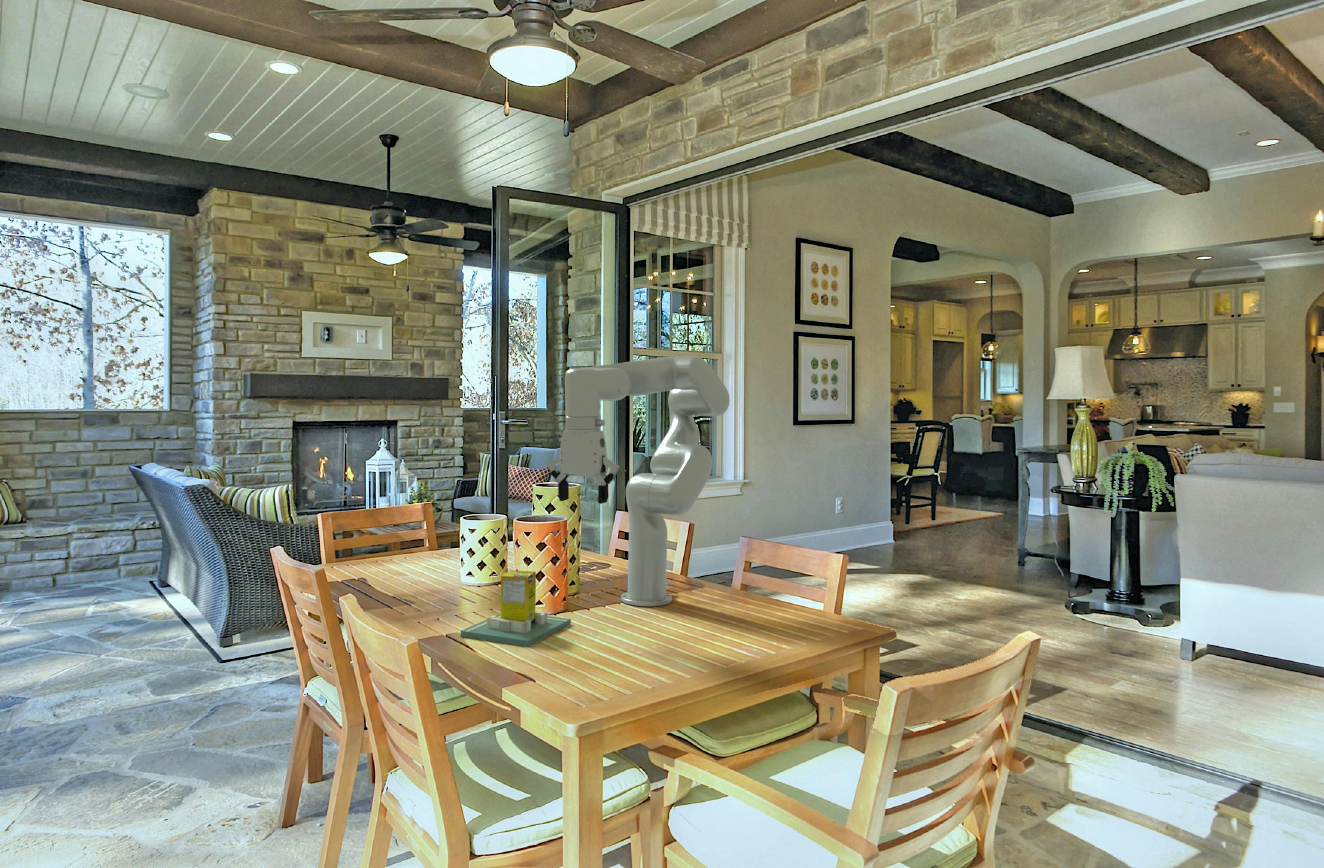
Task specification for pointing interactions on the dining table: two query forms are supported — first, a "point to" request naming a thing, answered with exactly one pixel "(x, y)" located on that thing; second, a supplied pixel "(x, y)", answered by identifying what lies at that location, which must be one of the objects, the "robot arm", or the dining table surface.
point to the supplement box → (518, 595)
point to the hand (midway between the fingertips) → (583, 501)
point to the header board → (516, 629)
